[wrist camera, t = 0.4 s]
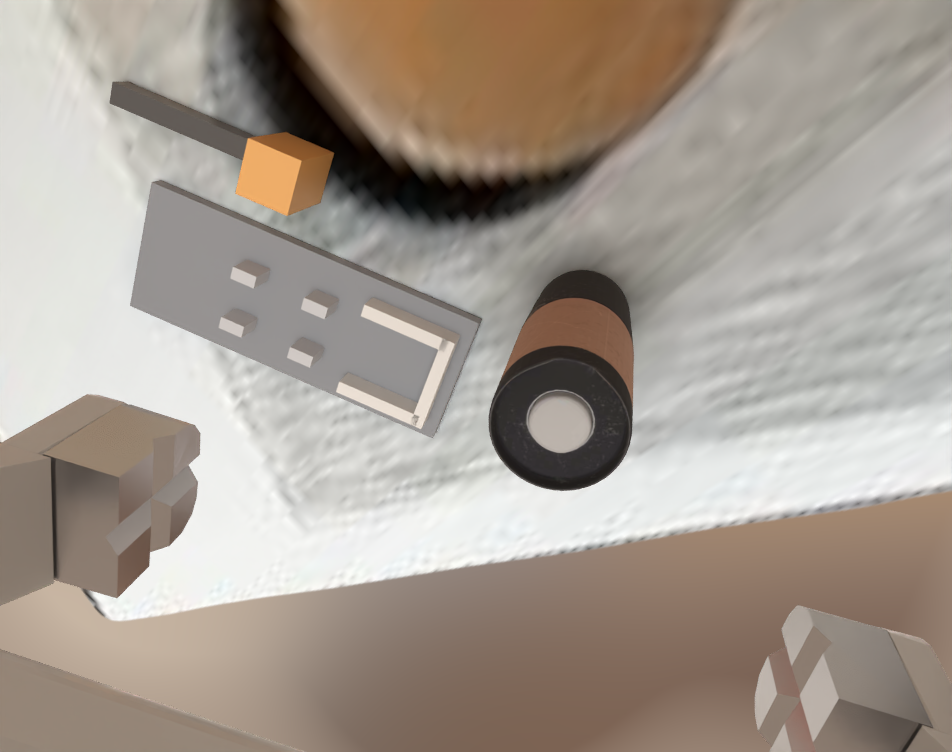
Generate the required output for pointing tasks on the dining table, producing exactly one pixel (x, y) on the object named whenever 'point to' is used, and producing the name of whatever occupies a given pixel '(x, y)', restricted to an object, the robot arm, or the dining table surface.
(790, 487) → the dining table surface
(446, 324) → the clip board
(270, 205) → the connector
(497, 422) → the travel mug
